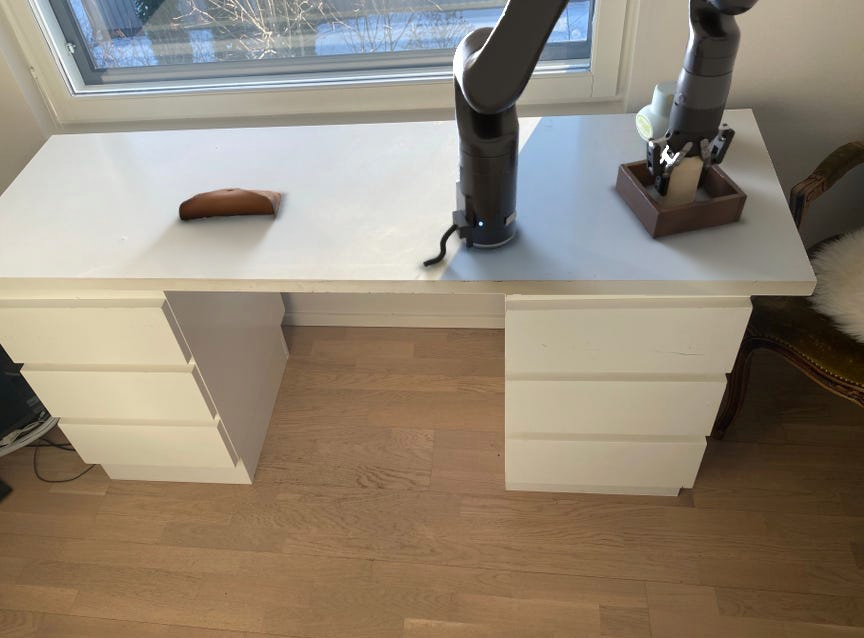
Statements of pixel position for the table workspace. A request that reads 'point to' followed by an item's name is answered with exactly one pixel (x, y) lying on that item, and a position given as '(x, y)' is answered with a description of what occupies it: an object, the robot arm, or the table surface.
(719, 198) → the walnut box
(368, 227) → the table surface
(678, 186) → the candle
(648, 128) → the air freshener
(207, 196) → the sunglasses case
